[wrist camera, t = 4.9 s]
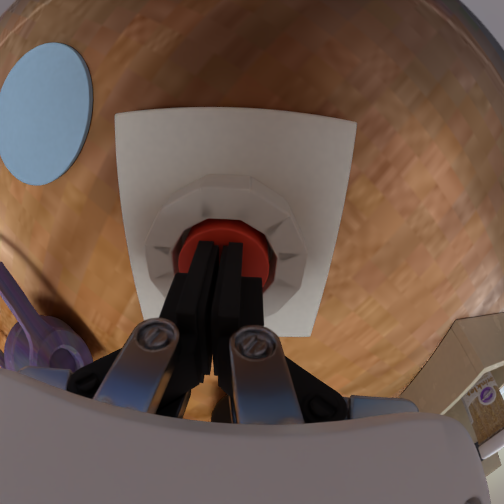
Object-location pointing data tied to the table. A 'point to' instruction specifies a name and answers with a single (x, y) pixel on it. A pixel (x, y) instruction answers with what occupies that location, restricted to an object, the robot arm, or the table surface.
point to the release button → (222, 234)
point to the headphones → (38, 335)
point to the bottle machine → (461, 372)
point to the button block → (235, 196)
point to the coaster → (45, 113)
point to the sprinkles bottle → (486, 414)
